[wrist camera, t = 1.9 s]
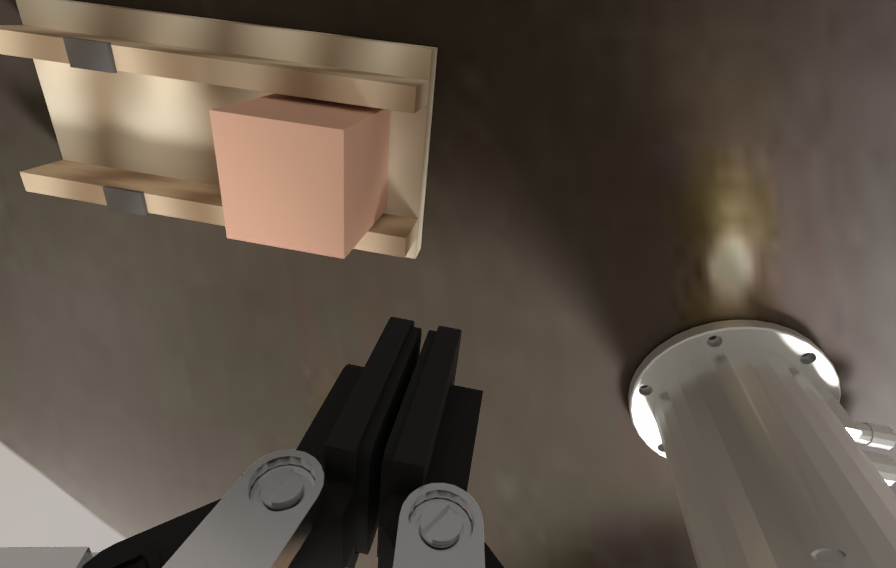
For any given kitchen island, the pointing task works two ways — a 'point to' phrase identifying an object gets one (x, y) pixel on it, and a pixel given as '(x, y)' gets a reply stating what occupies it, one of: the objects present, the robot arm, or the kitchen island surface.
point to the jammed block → (301, 171)
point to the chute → (206, 104)
